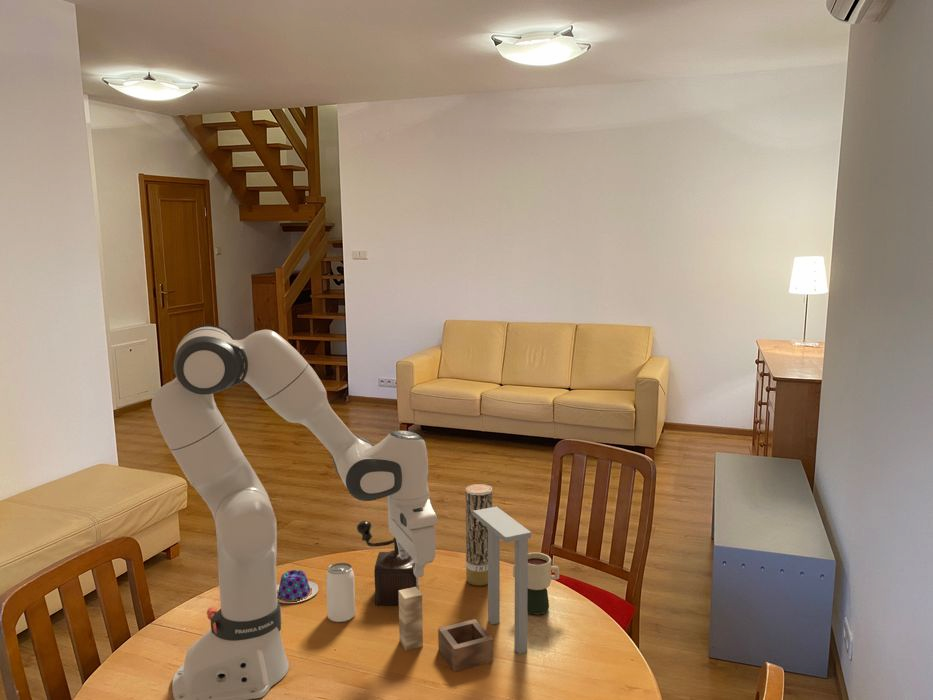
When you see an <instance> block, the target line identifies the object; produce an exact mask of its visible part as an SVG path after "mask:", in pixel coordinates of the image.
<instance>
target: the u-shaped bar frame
mask: <svg viewBox="0 0 933 700" xmlns="http://www.w3.org/2000/svg"><path fill="white" fill-rule="evenodd" d="M473 516H474V517H475V518H476V519H477V520H479V521H480V522H481V523H482V524H483V525H485V526H486V527H487V528H488V584H487V621H488V622H489V624H491V625H497V624H499V623H500V622H501V621H500V611H501V610H500V601H501V599H500V598H501V596H500V595H501V593H500V586H501V583H500V582H501V581H500V579H501V578H500V577H501V576H500V575H501V574H500V572H501V569H500V568H501V567H500V566H501V564H500V562H501V560H500V558H501V557H500V555H501V554H500V552H501V551H500V548H501V547H500V545H501V543H500V542H501V541H503V542H504V543H505V544H506V543H513V542H514V565H515V578H514V637H513V639H514V643H513V644H514V645H513V646H514V647H513V648H514V651H515V652H516V653H517V654H518V655H522V654H526V653H528V612H527V591H528V551H529V550H528V549H529V547H528V546H529V544H528V543H529V539H531V538H532V532H531V531H530V530H529V529H528V528H526V527H525V526H524V525H522V524H521V523H519V522H518V521H517V520H515V519H514V518H512V517H511V516H510V515H509V514H507V513H506V512H505V511H503V509H500V508H499V507H498V506H492V507H491V508H486V509H480V510H474V511H473Z"/></svg>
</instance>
